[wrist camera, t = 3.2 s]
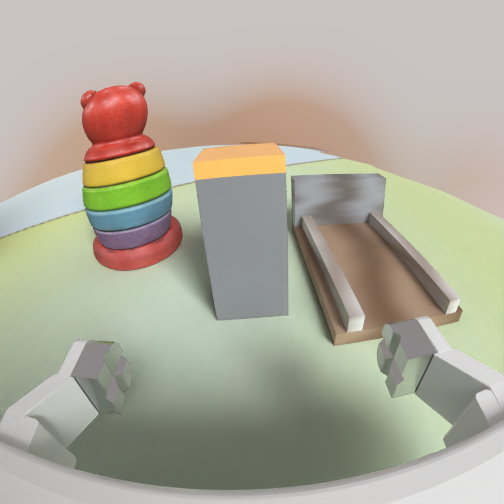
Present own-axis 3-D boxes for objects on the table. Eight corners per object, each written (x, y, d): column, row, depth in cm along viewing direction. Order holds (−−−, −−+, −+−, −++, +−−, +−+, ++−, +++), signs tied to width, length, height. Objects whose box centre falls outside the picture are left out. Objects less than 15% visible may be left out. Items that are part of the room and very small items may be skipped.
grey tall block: (217, 320, 21) (192, 162, 16) (220, 281, 25) (203, 148, 20) (288, 314, 21) (284, 155, 16) (280, 276, 25) (274, 142, 20)
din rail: (334, 345, 18) (344, 263, 15) (292, 228, 34) (291, 175, 31) (458, 321, 18) (482, 248, 15) (374, 222, 34) (378, 173, 31)
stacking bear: (175, 222, 38) (156, 82, 30) (198, 254, 30) (174, 69, 21) (95, 244, 34) (65, 102, 26) (94, 284, 26) (50, 95, 18)
